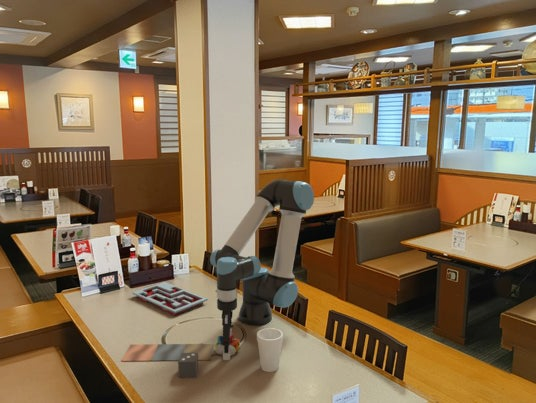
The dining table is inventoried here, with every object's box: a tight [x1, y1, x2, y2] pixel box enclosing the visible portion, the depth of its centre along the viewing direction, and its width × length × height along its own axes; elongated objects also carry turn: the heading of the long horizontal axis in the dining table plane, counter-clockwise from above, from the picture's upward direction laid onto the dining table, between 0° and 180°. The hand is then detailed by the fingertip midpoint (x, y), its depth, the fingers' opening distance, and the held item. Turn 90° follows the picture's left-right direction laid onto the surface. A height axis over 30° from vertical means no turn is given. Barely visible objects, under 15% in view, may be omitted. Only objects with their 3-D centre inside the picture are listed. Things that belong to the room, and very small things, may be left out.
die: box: [177, 353, 199, 379], centre depth 153 cm, size 6×6×6 cm
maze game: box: [132, 281, 209, 316], centre depth 216 cm, size 35×20×3 cm, turn 49°
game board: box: [121, 343, 215, 362], centre depth 167 cm, size 33×12×1 cm, turn 92°
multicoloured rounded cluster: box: [214, 333, 241, 357], centre depth 168 cm, size 8×10×7 cm
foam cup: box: [256, 327, 284, 373], centre depth 156 cm, size 10×9×13 cm
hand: (227, 351), depth 167 cm, fingers open, 11 cm apart
